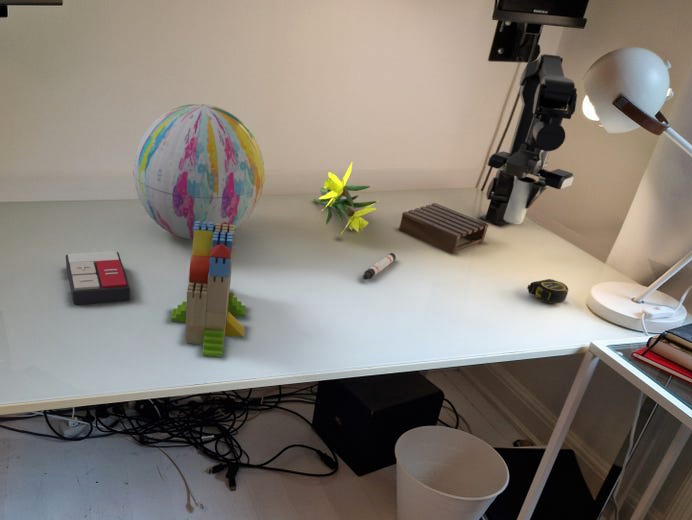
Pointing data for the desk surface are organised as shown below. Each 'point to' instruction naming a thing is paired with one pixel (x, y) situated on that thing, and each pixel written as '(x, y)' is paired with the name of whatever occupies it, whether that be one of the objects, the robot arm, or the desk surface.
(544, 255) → the desk surface
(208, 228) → the block set
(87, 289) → the calculator
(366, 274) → the marker
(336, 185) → the daffodil flowers
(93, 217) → the desk surface
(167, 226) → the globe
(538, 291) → the tape measure
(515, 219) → the grey hollow cylinder
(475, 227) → the rack
